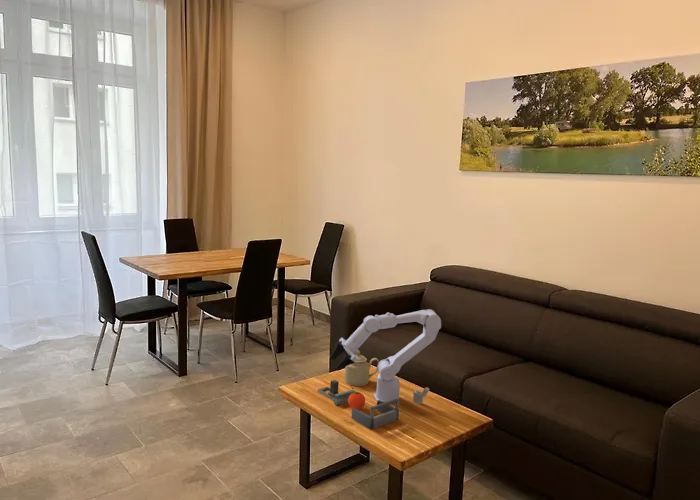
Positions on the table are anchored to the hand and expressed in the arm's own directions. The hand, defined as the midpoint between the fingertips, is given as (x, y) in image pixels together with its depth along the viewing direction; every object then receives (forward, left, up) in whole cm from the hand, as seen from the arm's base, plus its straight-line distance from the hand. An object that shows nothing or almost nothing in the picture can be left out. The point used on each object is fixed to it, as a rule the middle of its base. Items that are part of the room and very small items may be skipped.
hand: (334, 363), depth 226 cm
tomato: (-8, +11, -15) cm, 20 cm away
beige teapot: (-15, -18, -15) cm, 28 cm away
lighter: (-36, +8, -15) cm, 40 cm away
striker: (-2, +1, -15) cm, 15 cm away
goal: (-13, +20, -15) cm, 28 cm away
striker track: (0, -2, -15) cm, 15 cm away
